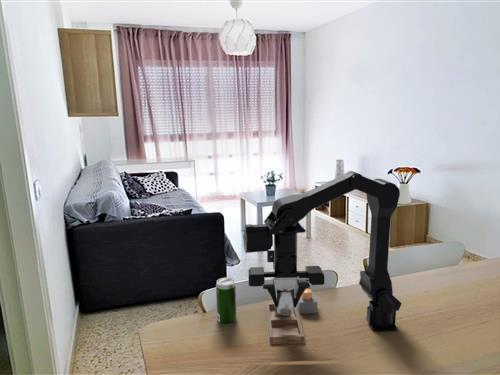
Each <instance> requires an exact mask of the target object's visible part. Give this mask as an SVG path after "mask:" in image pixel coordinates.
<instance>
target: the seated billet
mask: <svg viewBox="0 0 500 375" xmlns="http://www.w3.org/2000/svg"><path fill="white" fill-rule="evenodd" d="M276 298H277V292H276ZM274 316H275V317H290V315H288V316H285V315H280V314H279V313H278V312H277V308H276V307H275V305H274Z"/></svg>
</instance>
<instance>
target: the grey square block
mask: <svg viewBox="0 0 500 375" xmlns="http://www.w3.org/2000/svg"><path fill="white" fill-rule="evenodd" d="M297 310H298V314H299V315H300V314H303V315H305V314H318V300H317V296H316V295H315V293H312V300H309V301H307V300H303V299H302V296H301V297H300V300H299V302H298V304H297Z"/></svg>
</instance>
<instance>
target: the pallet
mask: <svg viewBox="0 0 500 375" xmlns="http://www.w3.org/2000/svg"><path fill="white" fill-rule="evenodd" d="M265 315H266V316H265V317H266V327H267V328H266V329H267V339H268V344H269V345H273V344H275V345H276V344H279V345H280V344H306V341H305V335H304V329H303V327H302V323H301V319H300V314H299V310H298V306H296V307H294V313H293V314H292V315H290V317H275V316H274V302H266V303H265Z"/></svg>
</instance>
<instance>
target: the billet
mask: <svg viewBox="0 0 500 375" xmlns="http://www.w3.org/2000/svg"><path fill="white" fill-rule="evenodd" d="M276 293H277V312H278V313H279V314H280V315H285V316H288V315H292V314H293V313H294V293H295V287H293V286H290V285H280V286H278V287H277V288H276Z"/></svg>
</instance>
